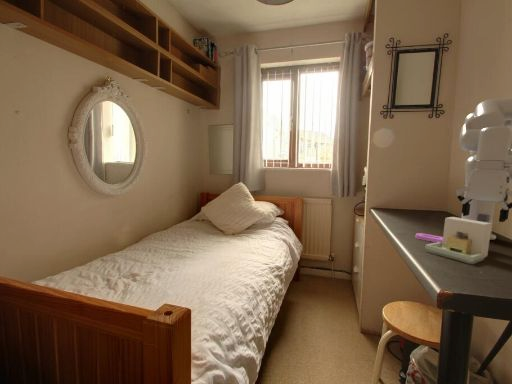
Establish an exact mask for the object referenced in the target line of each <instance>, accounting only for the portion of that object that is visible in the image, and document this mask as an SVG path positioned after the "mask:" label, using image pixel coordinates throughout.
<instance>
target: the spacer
mask: <svg viewBox="0 0 512 384" xmlns="http://www.w3.org/2000/svg"><path fill="white" fill-rule="evenodd" d="M471 244H472V240H471V239H467V238H462V237H457V236H448V237H447V245H446V250H450V251H452V250H454V249H459V250H462V254H465V255H468V254H470V251H471Z"/></svg>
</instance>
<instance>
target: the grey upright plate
mask: <svg viewBox="0 0 512 384" xmlns="http://www.w3.org/2000/svg"><path fill="white" fill-rule="evenodd" d="M489 219H490V215H488V214H478V217H477V221H481V222H487V223H489ZM461 237H462V238H467V239H468V234H467V233H463V232H462V234H461Z"/></svg>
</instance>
